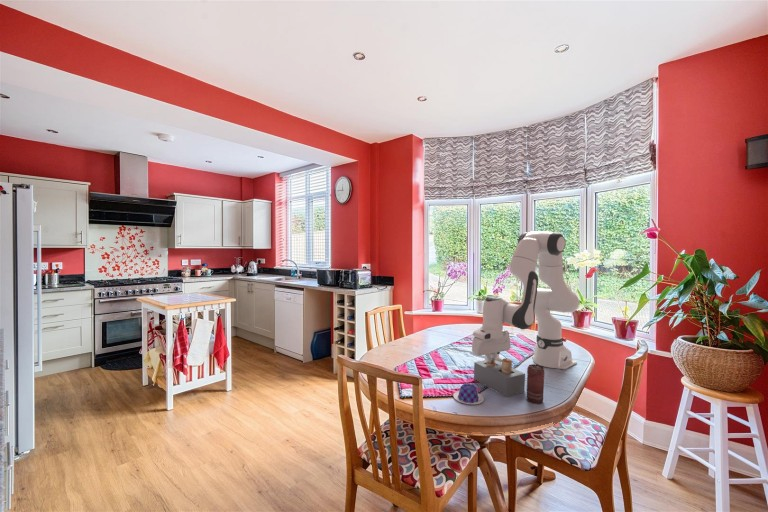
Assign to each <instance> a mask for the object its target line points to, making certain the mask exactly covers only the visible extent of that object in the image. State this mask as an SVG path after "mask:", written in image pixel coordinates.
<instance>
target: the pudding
mask: <svg viewBox="0 0 768 512" xmlns="http://www.w3.org/2000/svg"><path fill="white" fill-rule="evenodd" d="M452 396H453V398H454V399H455V400H456V401H457V402H459V403H463V404H465V405H466V404H467V405H478V404H481V403H483V402H484V399H485V398H484V396H483V395H481V394H480V393H479V392H478V389H477V387H476V386H475V385H474V384H471V383H463V384H462V385H461V386H460V389H459V390H457V391H455V392H454V393H453V395H452Z"/></svg>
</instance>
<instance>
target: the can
mask: <svg viewBox="0 0 768 512" xmlns="http://www.w3.org/2000/svg"><path fill="white" fill-rule="evenodd" d="M526 369H527V372H526V374H527V375H526V377H527V379H526V401H528V403H529V402H530V403H531V404H535V405H540V404H543V402H544V388H545V387H544V386H545V369H544V366H541V365H538V364H536V363H535V364H529V365H528V366H527V368H526Z"/></svg>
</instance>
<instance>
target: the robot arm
mask: <svg viewBox="0 0 768 512" xmlns="http://www.w3.org/2000/svg"><path fill="white" fill-rule="evenodd" d="M565 248H566V239H565V236H564V235H563V234H562V233H559V232H556V231H555V232H552V231H543V230H542V231H525V232H522V233H521V234H520V235H519V237H518V240H517V245H516V247H515V249H514V251H513V254H512V256H511V260H510V263H509V270H510V272H511V274H512V275H513V276H514V277H515V278H516V279H518V280H519V281H521V283H522V285H523V291H522V297H521V301H520V302H521V303H520V304H515V303H512V302H509V301H506V300H504V299H503V297H501V296H499V295H490V296H489V295H488V296H486V297H485V299H484V301H483V304H482V306H483V307H482V318H483V320H482V323H481V325H482V326H481V327H480V328H477V329H476V330H474V331H473V332H472V335H473V339H472V343H471V351H472V353H473V355H475V356H478V357H480V356H485V355H486V356H487V358H488V359H487V361H488V362H489V363H492V362H495V358H496V356H497V352H500V353H501V352H507V351H510V350H511V337H510V332H509V331H508V330H507V329H504V325H503V324H504V323H505V324H507V325H510V326H513V327H515V328H516V329H520V330H527V329H529V328H531V326H533V324H534V323H535V318H536V322H537V335H536V338H535V339H536V343H535V346H534V352H533V355H532V359H533V360H532V361H533V362H534V363H535V365H540V366H542V367H543V368H549V369H550V368H552V369H559V370H567V369H569V368H570V367H573V366H575V365H577V361H576V360H575V359H573V358H572V357H573V356H572V351H571V350H570V349H569V348H567V346H566V345H564V343H567V340H568V339H567V338H566V337H564V336H563V337H562V329H563V327H562V326H563V325H562V323H561V321H560V320H559V319H558V318H557V317H555V316H553V315H552V313H551V312H558V313H566V314H567V313H574V312H576V311H577V310H578V309H579V306H580V299H579V297H578V295H577V294H576V293H574V292H573V291H572V290H571V289H570V288H569V287H568V285H567V283H566V281H565V278H564V269H563V268H564V267H563V266H564V262H563V261H564V260H563V259H564V258H563V254H562V253H563V251H564V249H565ZM537 263H538V274H537V272H536V266H537ZM539 280H540V281H541V282H542V283H544V284H545V285H547V286H548V287H549V288H540V287H539ZM503 329H504V330H503ZM491 353H492V357H490V356H491Z"/></svg>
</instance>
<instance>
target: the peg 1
mask: <svg viewBox="0 0 768 512" xmlns="http://www.w3.org/2000/svg"><path fill="white" fill-rule="evenodd" d="M487 365H488V366H490V367H494V366H496V362H492V363H489V362H488V361H487Z"/></svg>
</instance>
